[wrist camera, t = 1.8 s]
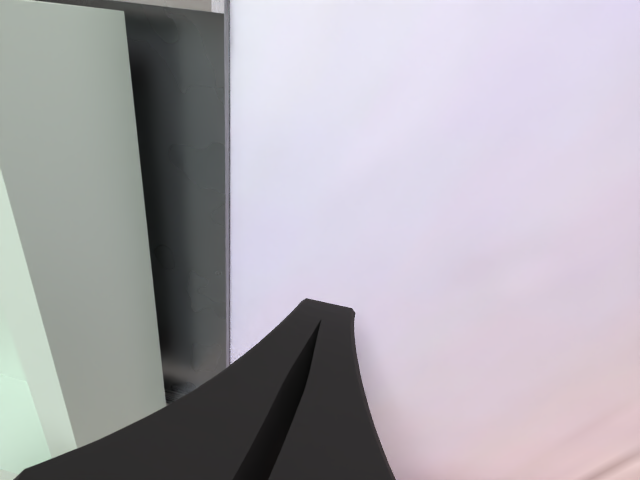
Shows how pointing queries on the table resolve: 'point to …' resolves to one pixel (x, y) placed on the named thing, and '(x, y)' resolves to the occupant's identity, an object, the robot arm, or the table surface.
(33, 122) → the pale green square tray
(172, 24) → the track plate
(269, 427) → the robot arm
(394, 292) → the table surface
